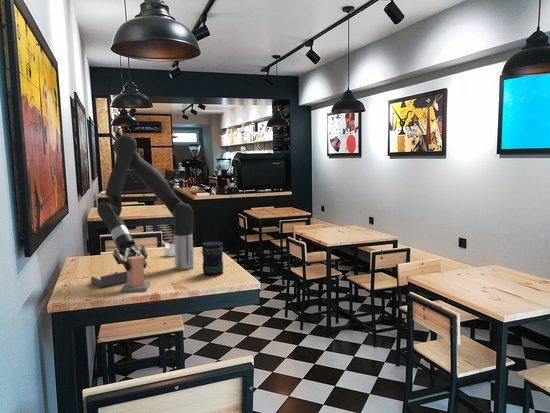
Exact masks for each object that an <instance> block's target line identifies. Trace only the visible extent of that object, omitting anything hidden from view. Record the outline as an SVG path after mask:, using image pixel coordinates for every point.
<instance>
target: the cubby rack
mask: <svg viewBox="0 0 550 413" xmlns="http://www.w3.org/2000/svg"><path fill="white" fill-rule="evenodd" d="M127 282H128V281H127V270H125V271H122V272H121V271H120V272H118V271H115V272H114V273H112V274H107V275H101V276H100V278H97V277H95V276H90V284H91V285H93V286H96V287H98V288H101V289H105V288H109V287H114V286H119V285H122V284H124V285H125V284H126V283H127Z"/></svg>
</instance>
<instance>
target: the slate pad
mask: <svg viewBox="0 0 550 413" xmlns="http://www.w3.org/2000/svg"><path fill="white" fill-rule="evenodd" d="M150 286H151V280H146V281H145V280H144V285H141V286H137V287H131V286H128V282H127V283H124V285H123V286H122V288H121V289H120V292H121V293H136V292H147V291H148V290H149V288H150Z"/></svg>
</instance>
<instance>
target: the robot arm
mask: <svg viewBox="0 0 550 413" xmlns="http://www.w3.org/2000/svg"><path fill="white" fill-rule="evenodd" d="M137 148H138V144H137V141H136V139H135V138H134V137H133V136H132V135H128V134H124V135H121V136H120V137H118V138H117V139H115V140H114V141H113V145H112V150H113V151H114V153H115V154H116V159H115V162H114V166H113V168H112V169H111V172H110V175H109V178H108V180H107V184H106V188H105V196H106V197H107V198H108V199H109V201H101V202H99V203H98V204H97V209H96V211H97V214H98V216H99V218H100V219H101V220H102V222H103V223H104V224H105V225H106V226H107V228H108V230H109V233H110V235H111V238H112V240H113V242H114V244H115V246H116V248H117V249H114V250H113V252H112V256H113V258H114V260H115V262H116V263H117V265H122V266H123V267H124V269H125V271H130V269H131V268H130V266H129V264H128V261H127V257H132V256H141V257H143V264H144V269H146V267H147V265H148V263H147V261H146V260H147V258H148V253H147V250H146V248H145V246H144V245H141V246H137V245H136V242H135V240H134V238H133V236H132V234H131V232H130V230H129V229H128V227H127V225H126V223H125V221H124V219H123V218H122V217H120V216H121V213H122V209H123V208H122V206H123V205H122V194H123V191H124V190H123V189H124V186H125V182H126V177H127V175H128V170H129V167H130V168H131V169H132V171H133V172H134V173H135V175H137V177H138V178H139V179H140V180H141V182H142V183H143V184H144V185H145V186H146V188H147V189H148V190H149V191H150V192H151V193H153V195H154V196H156V197H157V198H158V199H159V200H160V201H161V202H162V203H163V204H164V206H165V207H166V208H167V209H168V211H169V213H170V214H171V216H172V217H173V218H174V229H173V238H174V239H173V244H174V249H175V256H174V265H175V266H174V267H175V269H176V270H189V269H194V267H195V255H194V252H195V251H194V240H193V237H194V236H193V231H194V210H193V208H192V206H191V205H190V204H187V203H184V202H183V201H182V200H181V199H180V198H179V197H178V196H177V195H176V194H175V192H174V191H173V189H172V187H171V185H170V183H169V182H168V181H167V179H166V178H165V177H164V175H163V174H162V173H161V171H159V170H158V169H157V168H156V167H154V166H153V165H152V164H150V163H149V162H148V161H146V160H145V159H143V157H141V156H140V154H139V153H138V152H137ZM121 256H122V257H121ZM126 261H127V262H126Z"/></svg>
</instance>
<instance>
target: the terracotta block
mask: <svg viewBox="0 0 550 413" xmlns="http://www.w3.org/2000/svg"><path fill="white" fill-rule="evenodd" d="M127 261H128V264H129V266H130V268H131V269H130V271H127V270H126V271H127V281H128V286H131V287H137V286H141V285H144V282H145V268H144V264H143V257H141V256H132V257H127ZM127 261H126V262H127Z"/></svg>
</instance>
